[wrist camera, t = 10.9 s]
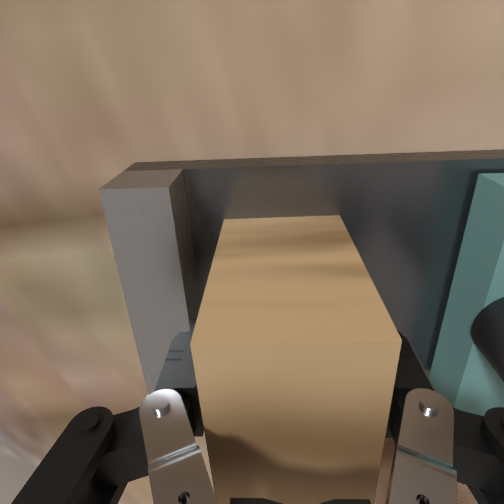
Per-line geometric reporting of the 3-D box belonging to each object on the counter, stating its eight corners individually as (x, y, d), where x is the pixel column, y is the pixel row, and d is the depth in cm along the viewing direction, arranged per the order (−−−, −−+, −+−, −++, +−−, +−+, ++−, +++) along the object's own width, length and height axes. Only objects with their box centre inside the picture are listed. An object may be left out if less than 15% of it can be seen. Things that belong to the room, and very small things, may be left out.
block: (224, 219, 16) (190, 343, 9) (339, 215, 16) (402, 340, 8) (236, 351, 19) (218, 517, 12) (331, 349, 19) (370, 519, 12)
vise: (135, 162, 16) (98, 189, 13) (574, 147, 15) (667, 171, 12) (172, 362, 22) (154, 420, 18) (499, 360, 21) (547, 420, 17)
